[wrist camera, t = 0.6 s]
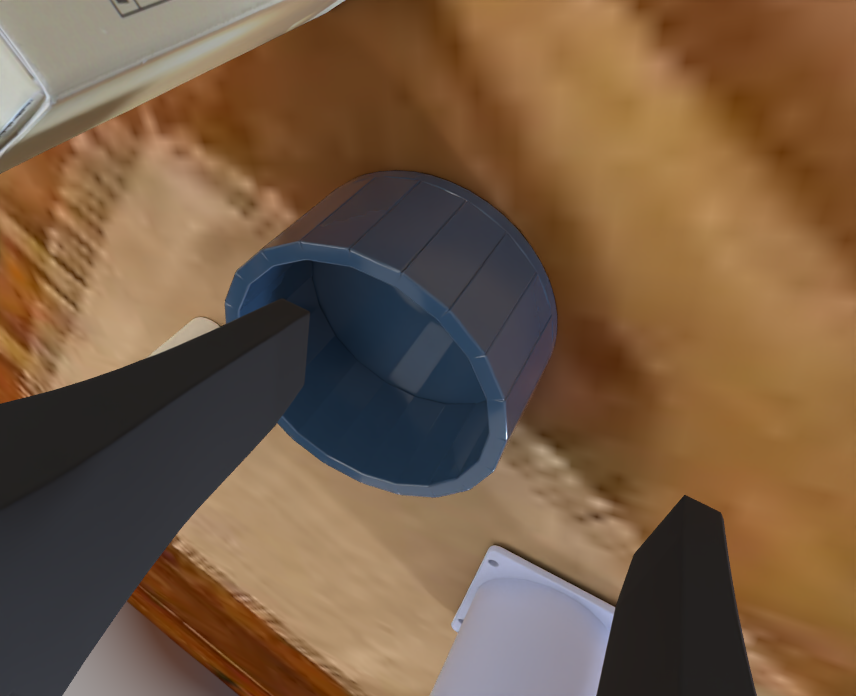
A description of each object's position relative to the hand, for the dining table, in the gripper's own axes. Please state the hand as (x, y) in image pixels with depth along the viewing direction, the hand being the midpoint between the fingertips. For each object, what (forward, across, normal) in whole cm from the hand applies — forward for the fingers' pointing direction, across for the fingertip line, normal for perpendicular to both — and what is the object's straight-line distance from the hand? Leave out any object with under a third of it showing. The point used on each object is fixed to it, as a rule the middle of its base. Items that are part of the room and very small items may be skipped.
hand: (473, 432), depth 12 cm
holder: (+10, +5, +6) cm, 13 cm away
